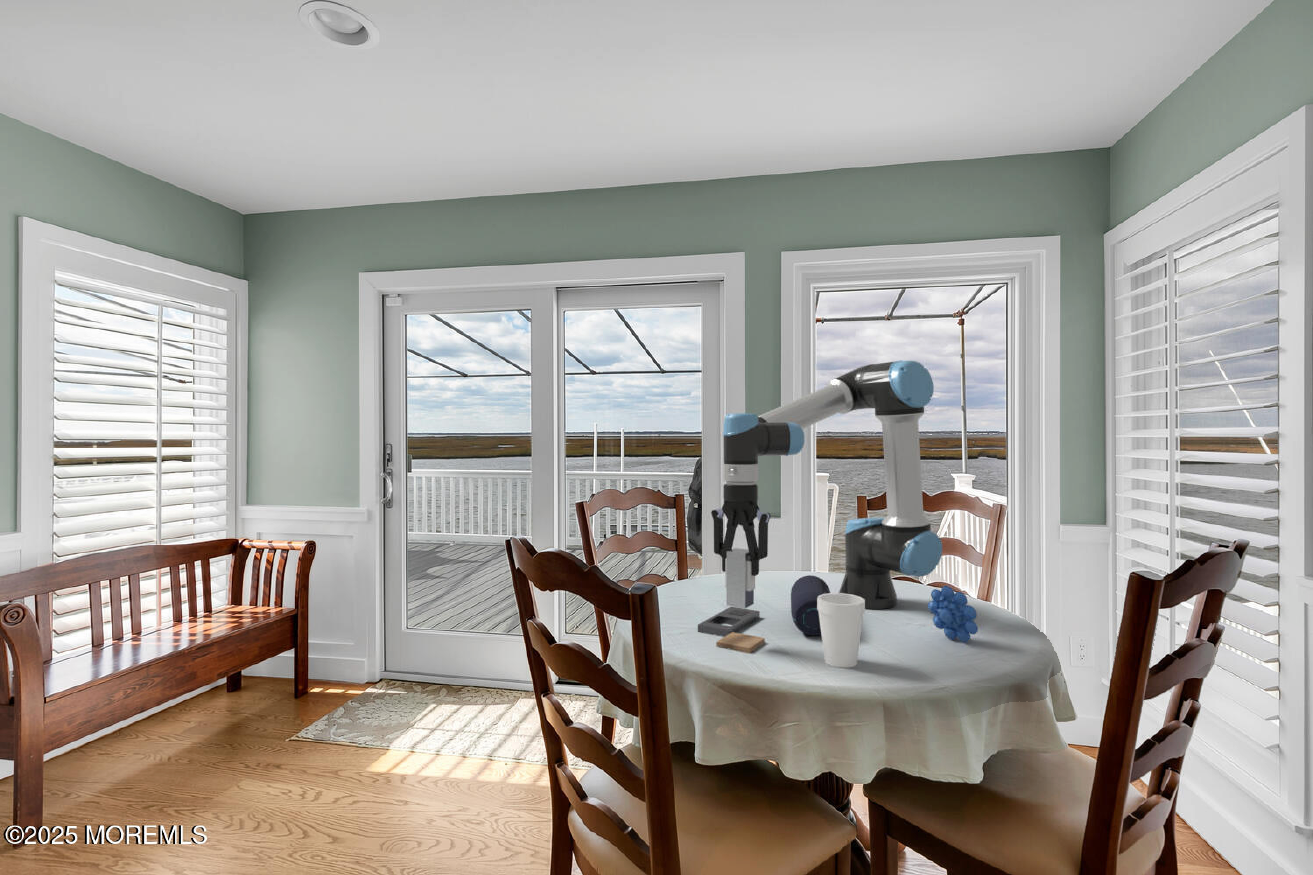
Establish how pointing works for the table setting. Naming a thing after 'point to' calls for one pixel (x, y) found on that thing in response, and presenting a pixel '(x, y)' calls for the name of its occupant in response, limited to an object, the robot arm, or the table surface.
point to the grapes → (953, 614)
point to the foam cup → (840, 627)
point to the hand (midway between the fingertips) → (740, 587)
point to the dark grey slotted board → (729, 621)
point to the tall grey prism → (738, 579)
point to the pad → (741, 642)
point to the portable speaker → (807, 603)
